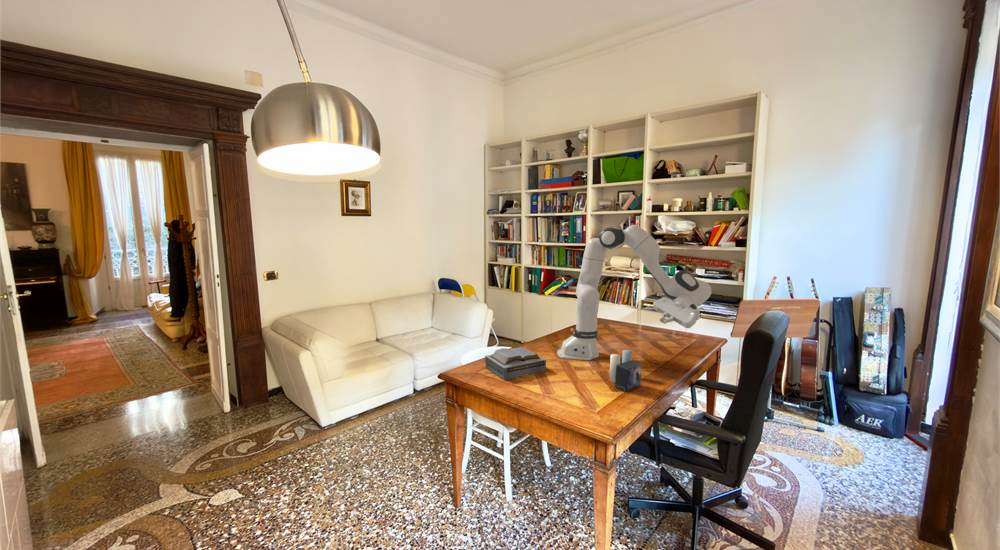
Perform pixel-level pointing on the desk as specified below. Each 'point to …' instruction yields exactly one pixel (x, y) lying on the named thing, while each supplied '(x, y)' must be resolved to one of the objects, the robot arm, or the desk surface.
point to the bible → (514, 363)
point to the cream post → (613, 366)
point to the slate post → (626, 355)
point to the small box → (628, 376)
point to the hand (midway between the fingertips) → (662, 321)
